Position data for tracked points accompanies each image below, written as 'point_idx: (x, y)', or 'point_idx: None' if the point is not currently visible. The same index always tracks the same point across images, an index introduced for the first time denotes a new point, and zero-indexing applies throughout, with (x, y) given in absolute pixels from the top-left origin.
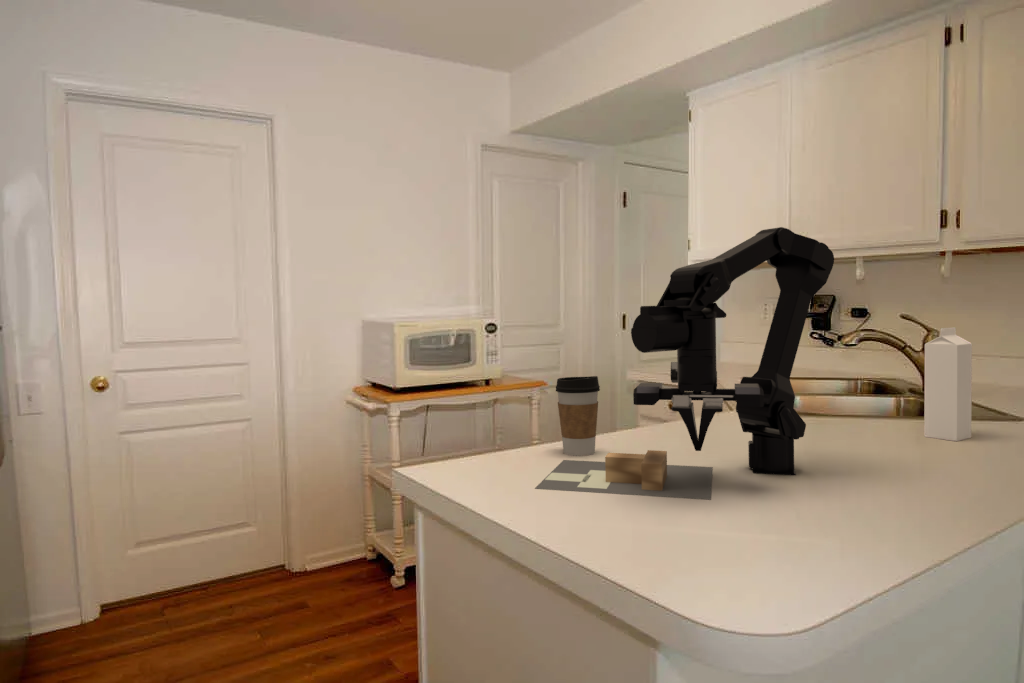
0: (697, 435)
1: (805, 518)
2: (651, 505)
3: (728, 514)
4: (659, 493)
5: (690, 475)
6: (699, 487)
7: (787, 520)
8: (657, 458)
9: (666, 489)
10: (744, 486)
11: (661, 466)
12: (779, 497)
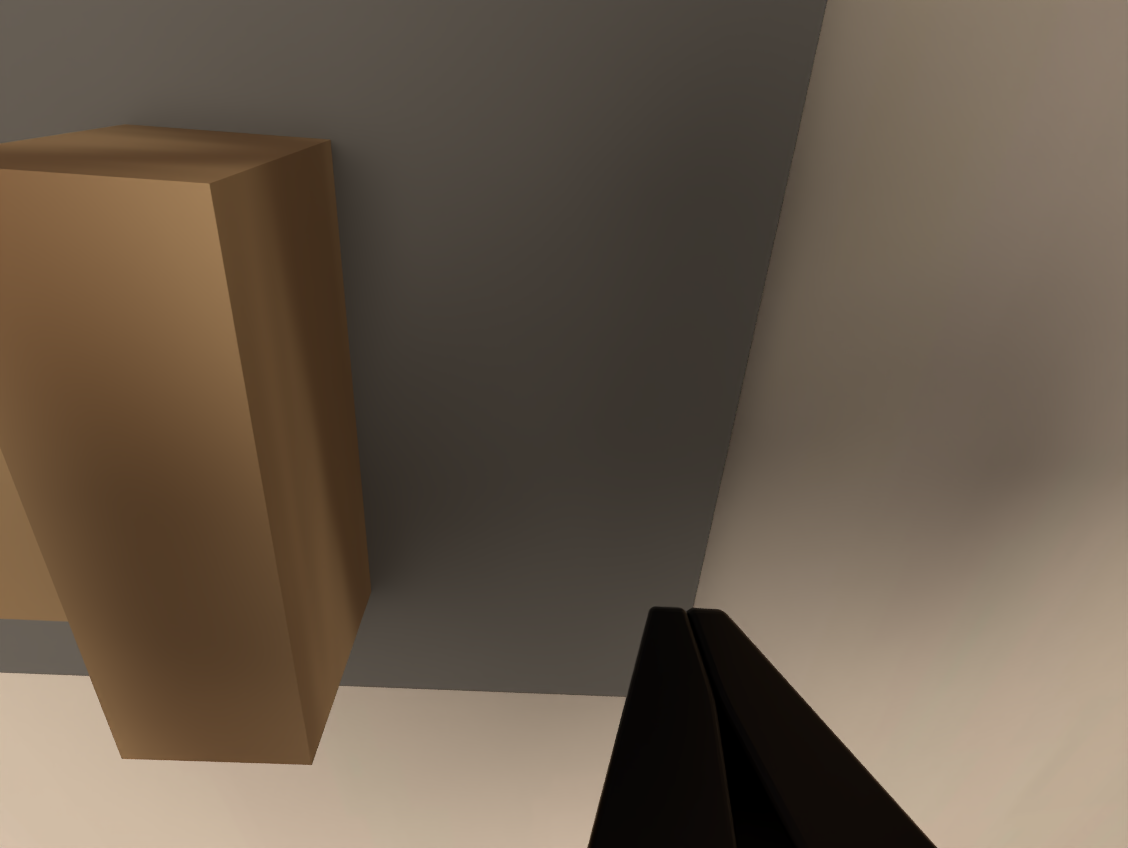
0: (722, 770)
1: (1057, 800)
2: (354, 752)
3: None
4: (364, 643)
5: (576, 111)
6: (630, 493)
7: (963, 825)
8: (211, 595)
9: (395, 563)
10: (1007, 332)
11: (315, 747)
12: (1124, 552)
